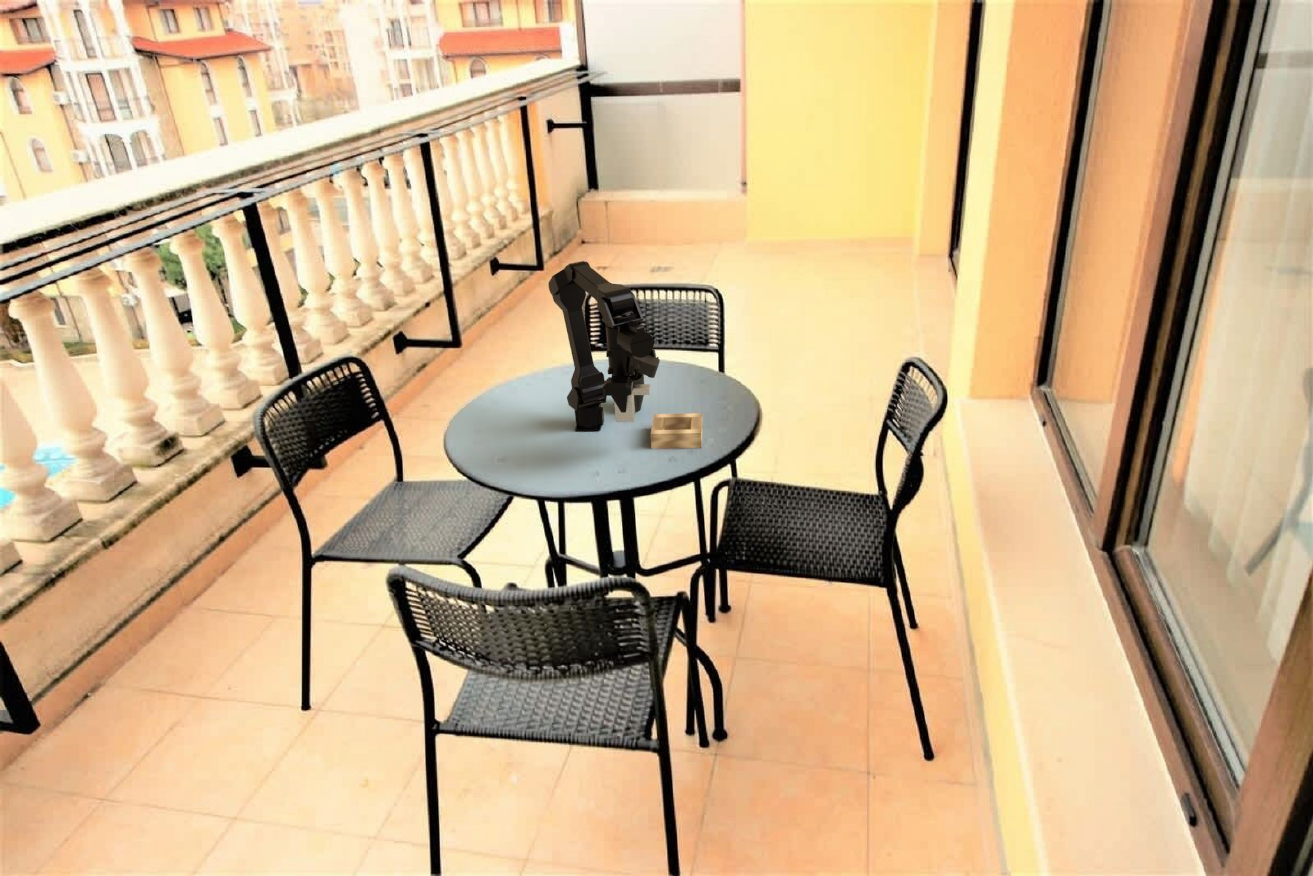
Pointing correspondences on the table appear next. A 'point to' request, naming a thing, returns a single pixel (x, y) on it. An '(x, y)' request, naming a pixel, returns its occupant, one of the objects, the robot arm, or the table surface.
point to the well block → (676, 431)
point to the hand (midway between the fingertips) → (624, 408)
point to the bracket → (631, 403)
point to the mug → (638, 398)
